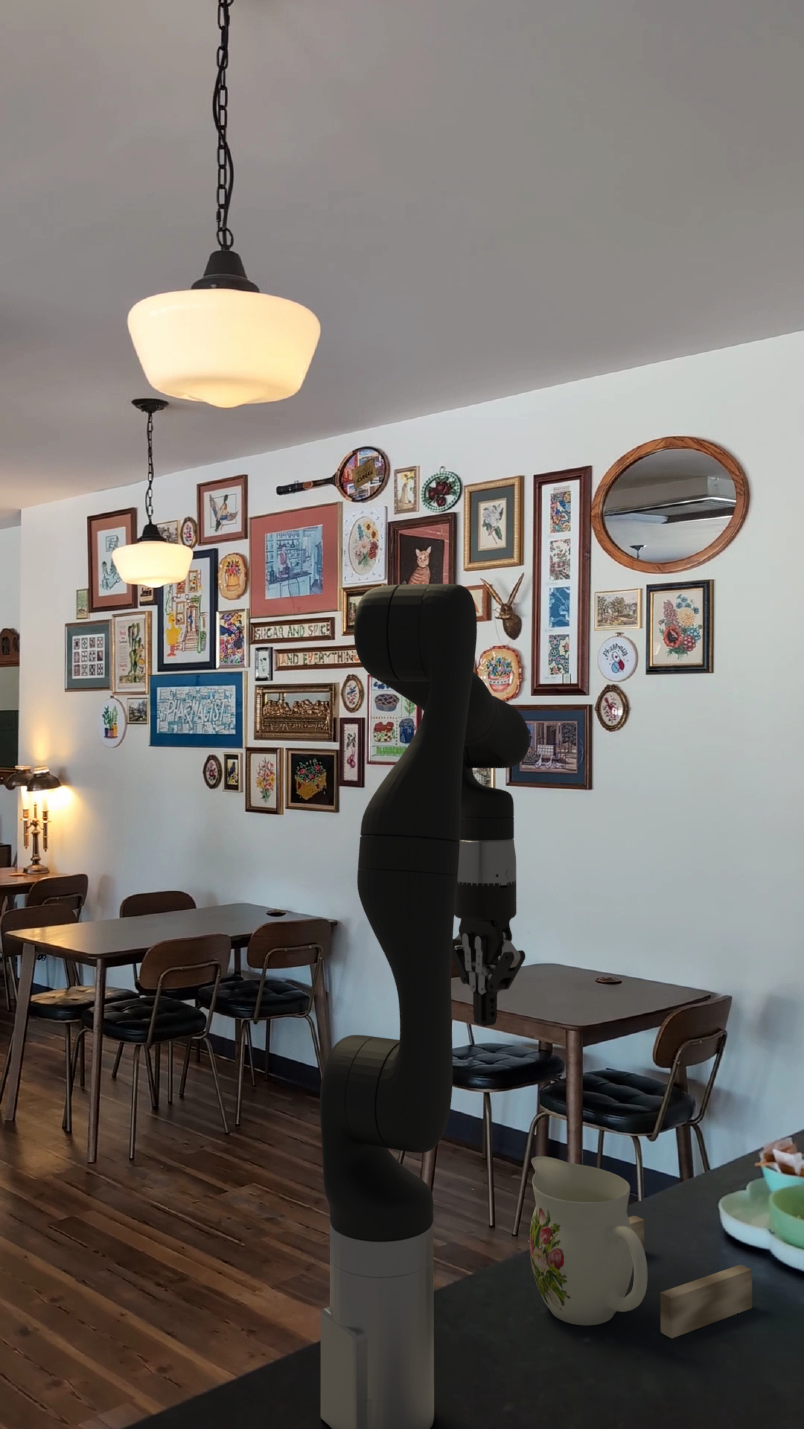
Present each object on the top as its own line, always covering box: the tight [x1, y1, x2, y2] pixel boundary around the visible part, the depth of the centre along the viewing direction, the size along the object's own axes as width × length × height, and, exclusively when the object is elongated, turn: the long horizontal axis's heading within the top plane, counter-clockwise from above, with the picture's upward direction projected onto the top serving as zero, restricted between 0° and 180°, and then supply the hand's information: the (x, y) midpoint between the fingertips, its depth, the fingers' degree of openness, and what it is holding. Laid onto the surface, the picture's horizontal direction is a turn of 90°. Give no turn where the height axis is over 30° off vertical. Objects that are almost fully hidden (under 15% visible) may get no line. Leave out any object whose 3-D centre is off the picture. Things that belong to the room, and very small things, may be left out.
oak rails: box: [628, 1215, 753, 1339], centre depth 128 cm, size 12×18×4 cm
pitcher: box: [529, 1155, 648, 1326], centre depth 123 cm, size 11×18×14 cm, turn 29°
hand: (485, 1024), depth 138 cm, fingers closed
